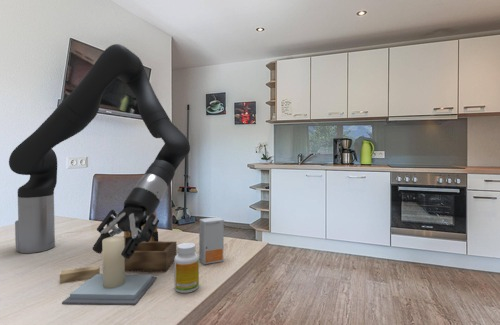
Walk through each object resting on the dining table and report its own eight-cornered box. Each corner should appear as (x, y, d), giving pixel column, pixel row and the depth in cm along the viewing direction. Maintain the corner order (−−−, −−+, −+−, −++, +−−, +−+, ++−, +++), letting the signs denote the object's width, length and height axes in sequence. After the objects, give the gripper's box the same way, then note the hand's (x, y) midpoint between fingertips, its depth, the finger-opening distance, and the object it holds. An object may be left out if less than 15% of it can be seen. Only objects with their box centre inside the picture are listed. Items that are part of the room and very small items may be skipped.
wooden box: (116, 271, 72) (116, 252, 71) (132, 258, 81) (132, 241, 80) (166, 271, 71) (166, 252, 71) (176, 258, 80) (176, 241, 80)
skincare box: (203, 265, 75) (203, 222, 75) (199, 260, 79) (198, 218, 79) (224, 261, 78) (224, 219, 78) (218, 256, 82) (218, 216, 81)
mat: (61, 304, 56) (61, 302, 56) (96, 277, 68) (96, 276, 68) (135, 305, 55) (135, 303, 55) (156, 278, 67) (156, 276, 67)
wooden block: (59, 284, 65) (59, 274, 65) (62, 280, 67) (61, 270, 67) (98, 278, 68) (98, 269, 68) (99, 274, 70) (99, 265, 70)
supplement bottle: (202, 289, 62) (202, 246, 62) (179, 296, 59) (178, 251, 59) (193, 280, 66) (193, 240, 66) (171, 286, 63) (171, 244, 63)
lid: (69, 298, 57) (68, 246, 57) (96, 278, 67) (96, 233, 66) (134, 299, 57) (133, 246, 56) (152, 278, 66) (151, 233, 66)
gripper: (117, 185, 71) (75, 242, 61) (162, 187, 66) (125, 250, 55) (133, 202, 76) (97, 257, 66) (176, 205, 71) (144, 266, 60)
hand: (110, 254), depth 61 cm, fingers open, 8 cm apart
